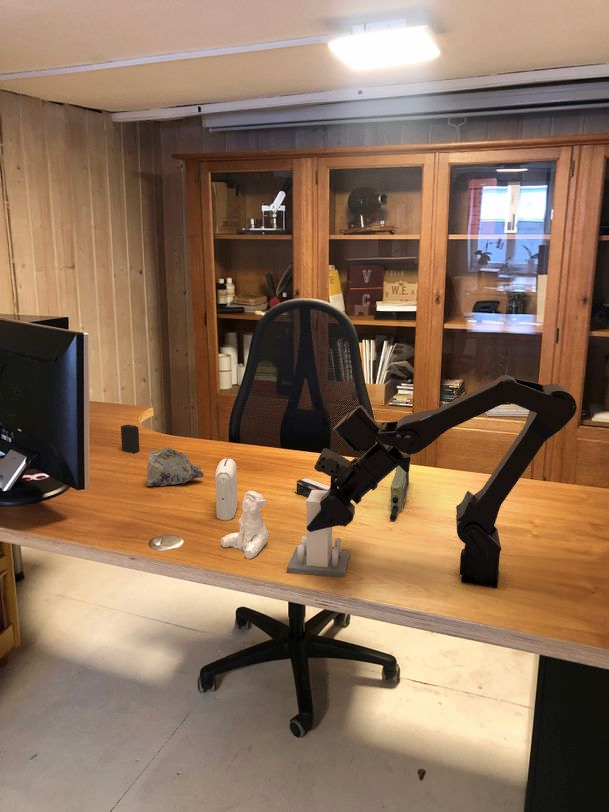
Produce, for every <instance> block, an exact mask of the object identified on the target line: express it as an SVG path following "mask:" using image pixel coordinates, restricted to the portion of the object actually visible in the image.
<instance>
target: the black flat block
mask: <svg viewBox="0 0 609 812" xmlns="http://www.w3.org/2000/svg"><path fill="white" fill-rule="evenodd" d="M329 488H330V485H327V484H324V483H322V482H320V481H317V480H314V479H313V478H308V477H304V478H301V479H298V480H296V492H295V493H296V495H300V496H301V497H304V498H307V499H308V497H309V495H310V493H311V491H312V490H322V491H328V490H329Z"/></svg>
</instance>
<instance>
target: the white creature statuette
mask: <svg viewBox="0 0 609 812" xmlns="http://www.w3.org/2000/svg"><path fill="white" fill-rule="evenodd" d="M267 504H268V500H267V499H265V498H264V496H263V495H262V494H261V493H259V492H257V491H254V490H247V491H246V493H245V494H244V495H243V498H242V505H241V507H242V513H241V516H240V517H239V518H238V520H237V521H238V525H239V531H238V532H232V533H228V534H226V535H224V536H223V537H221V538H220V542H221V543H220V544H221V546H222V548H234V549H237V550H239V551H240V550H241V551H242V552H243V553H244V557H245V558H246V559H247V560H248V559H249V560H251V559H253V558H255V557H257V556H258V554H259V552H260V551H262V549H263V548H264V546H265V545H266V544H267V542H268V538H269V533H270V532H269V531H268V529H267V527H266V525H265V523H264V518H263V516H262V515H261V513H260V512H261V510H263V507H265V506H266V505H267Z"/></svg>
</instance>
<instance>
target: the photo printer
mask: <svg viewBox="0 0 609 812" xmlns="http://www.w3.org/2000/svg"><path fill="white" fill-rule="evenodd" d="M237 468H238V467H237V463H236V462H235V460H234V459H232V458H226V457H225V458H223V459H222V460H220V462H219V463H218V465H217V467H216V470H215V477H214V478H215V480H214V481H215V504H216V505H215V506H216V509H215V510H216V518H217V519H218V520H220V521H230V520H232V519H233V518H234V517H235V514H236V511H237V506H238V475H237Z"/></svg>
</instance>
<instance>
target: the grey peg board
mask: <svg viewBox="0 0 609 812" xmlns="http://www.w3.org/2000/svg"><path fill="white" fill-rule="evenodd" d="M351 554H352V552H351V550H342V538H339V537H336V538H335V539H334V547H333V546H332V555H331V558H330V561H329V564H328V567H319V566H307V535H302V536H301V544H297V546H296V547H295V549H294V552H293V553H292V556H291V557H290V560H289V562H288V564H287V567H286V573H288V574H299V575H310V576H321V577H323V576H324V577H333V578H344V579H345V577H346V574H347V571H348V568H349V567H348V566H349V564H350V563H349V562H350V559H351Z"/></svg>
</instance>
